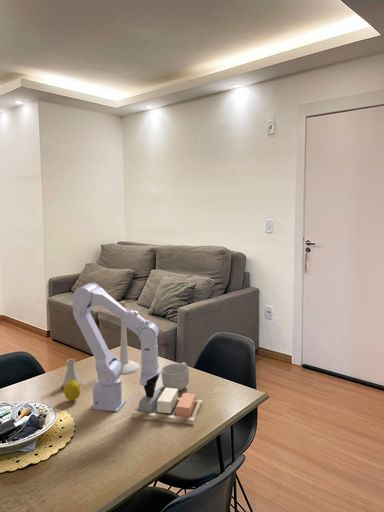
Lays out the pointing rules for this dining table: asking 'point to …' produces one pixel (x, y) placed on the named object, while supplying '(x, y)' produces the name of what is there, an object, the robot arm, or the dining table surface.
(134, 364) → the candlestick
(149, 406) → the grey rectangular block
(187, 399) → the terracotta key
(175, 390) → the ivory key
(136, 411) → the wooden tray
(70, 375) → the flask
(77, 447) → the dining table surface
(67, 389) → the lemon
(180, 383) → the teacup
